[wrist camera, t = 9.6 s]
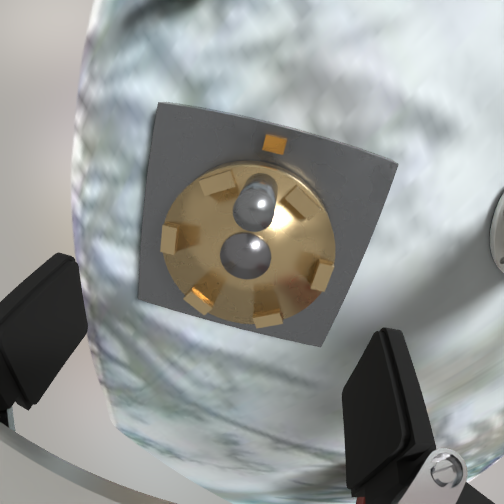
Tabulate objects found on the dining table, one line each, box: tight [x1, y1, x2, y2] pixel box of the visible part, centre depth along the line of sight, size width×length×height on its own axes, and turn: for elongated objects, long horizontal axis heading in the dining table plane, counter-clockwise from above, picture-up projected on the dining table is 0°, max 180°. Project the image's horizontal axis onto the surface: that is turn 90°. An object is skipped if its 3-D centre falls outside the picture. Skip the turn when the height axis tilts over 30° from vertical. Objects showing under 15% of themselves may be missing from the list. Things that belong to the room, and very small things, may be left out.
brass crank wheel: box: [160, 160, 335, 328], centre depth 24 cm, size 14×14×8 cm
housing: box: [138, 102, 398, 347], centre depth 28 cm, size 20×20×3 cm
